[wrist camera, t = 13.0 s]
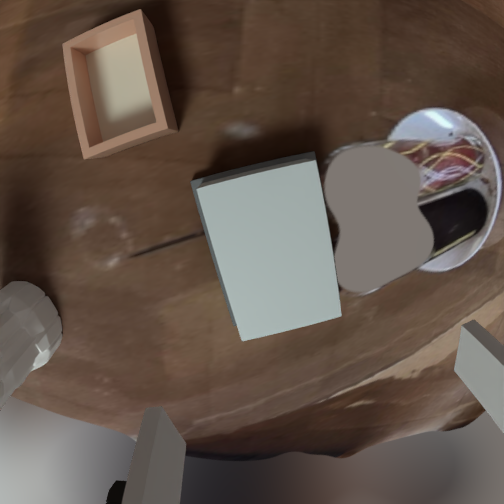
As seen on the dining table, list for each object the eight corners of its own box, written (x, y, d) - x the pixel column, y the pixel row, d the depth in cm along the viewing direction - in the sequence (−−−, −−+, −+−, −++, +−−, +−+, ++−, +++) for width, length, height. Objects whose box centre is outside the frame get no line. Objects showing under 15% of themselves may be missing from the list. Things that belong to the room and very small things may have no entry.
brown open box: (84, 55, 24) (62, 44, 20) (153, 27, 24) (140, 8, 19) (105, 156, 28) (84, 159, 23) (178, 131, 28) (168, 128, 23)
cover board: (201, 183, 29) (196, 188, 25) (305, 158, 28) (315, 160, 25) (241, 320, 33) (241, 341, 30) (330, 297, 33) (341, 316, 29)
